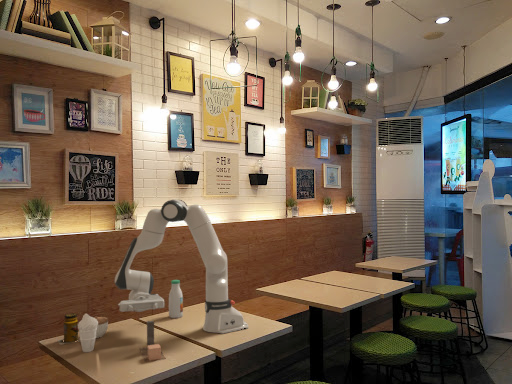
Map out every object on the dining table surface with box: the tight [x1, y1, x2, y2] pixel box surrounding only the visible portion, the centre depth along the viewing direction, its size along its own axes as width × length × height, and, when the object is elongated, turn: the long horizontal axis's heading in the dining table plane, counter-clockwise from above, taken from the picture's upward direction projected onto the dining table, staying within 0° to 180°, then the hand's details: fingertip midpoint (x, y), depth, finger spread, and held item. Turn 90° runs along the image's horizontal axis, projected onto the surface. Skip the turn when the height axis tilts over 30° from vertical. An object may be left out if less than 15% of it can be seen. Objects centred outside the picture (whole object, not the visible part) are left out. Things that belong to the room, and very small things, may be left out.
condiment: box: [57, 313, 81, 346], centre depth 195 cm, size 7×8×12 cm
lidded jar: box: [94, 315, 109, 339], centre depth 201 cm, size 11×11×9 cm
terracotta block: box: [148, 343, 162, 362], centre depth 167 cm, size 4×4×4 cm
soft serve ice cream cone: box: [78, 313, 98, 353], centre depth 181 cm, size 8×8×16 cm
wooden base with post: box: [139, 320, 167, 363], centre depth 172 cm, size 17×8×13 cm, turn 23°
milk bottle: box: [168, 279, 184, 319], centre depth 234 cm, size 8×8×20 cm
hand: (144, 308), depth 190 cm, fingers open, 8 cm apart
